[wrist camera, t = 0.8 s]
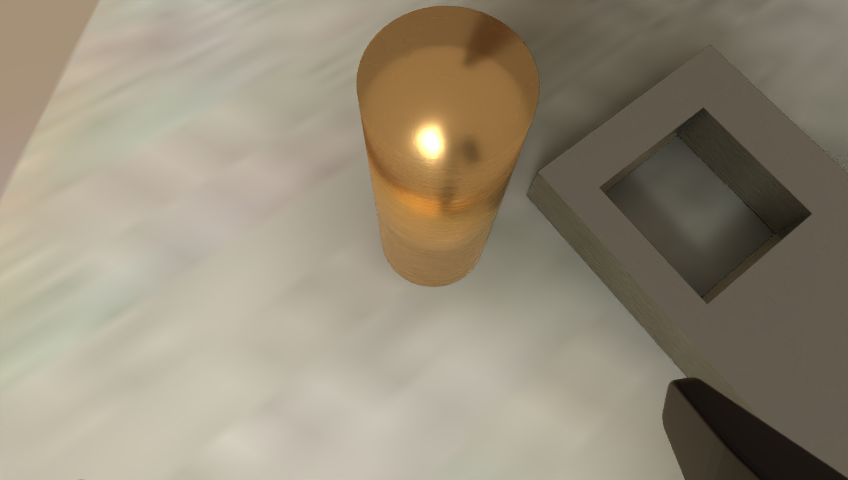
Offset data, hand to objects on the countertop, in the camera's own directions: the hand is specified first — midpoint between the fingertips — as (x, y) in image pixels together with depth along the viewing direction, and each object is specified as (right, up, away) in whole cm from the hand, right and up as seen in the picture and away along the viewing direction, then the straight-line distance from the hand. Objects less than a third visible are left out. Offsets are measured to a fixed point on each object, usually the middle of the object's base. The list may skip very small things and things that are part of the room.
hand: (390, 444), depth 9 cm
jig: (+14, +2, +16) cm, 22 cm away
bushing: (+1, +3, +17) cm, 17 cm away
